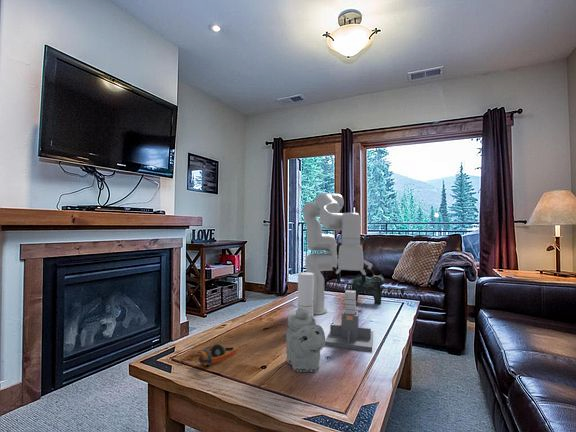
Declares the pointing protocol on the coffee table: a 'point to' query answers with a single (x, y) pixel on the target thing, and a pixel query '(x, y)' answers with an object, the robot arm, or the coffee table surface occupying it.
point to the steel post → (350, 302)
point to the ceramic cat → (369, 286)
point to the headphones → (215, 354)
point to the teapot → (304, 342)
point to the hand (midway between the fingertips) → (351, 283)
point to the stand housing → (350, 334)
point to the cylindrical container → (306, 291)
